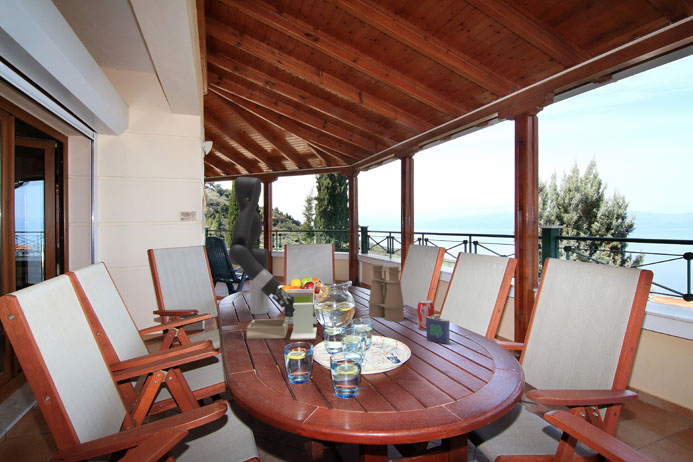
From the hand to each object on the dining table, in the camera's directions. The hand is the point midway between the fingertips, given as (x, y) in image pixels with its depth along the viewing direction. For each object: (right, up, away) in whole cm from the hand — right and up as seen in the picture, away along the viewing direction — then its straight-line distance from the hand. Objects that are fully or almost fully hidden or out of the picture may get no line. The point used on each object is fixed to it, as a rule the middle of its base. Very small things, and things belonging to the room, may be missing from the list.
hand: (294, 309), depth 149 cm
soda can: (+56, -10, +5) cm, 57 cm away
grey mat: (+4, -10, 0) cm, 11 cm away
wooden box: (-11, -10, 0) cm, 15 cm away
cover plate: (+4, -10, 0) cm, 10 cm away
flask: (+57, -10, -12) cm, 59 cm away
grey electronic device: (+1, -10, +19) cm, 21 cm away
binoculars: (+41, -9, +25) cm, 49 cm away
